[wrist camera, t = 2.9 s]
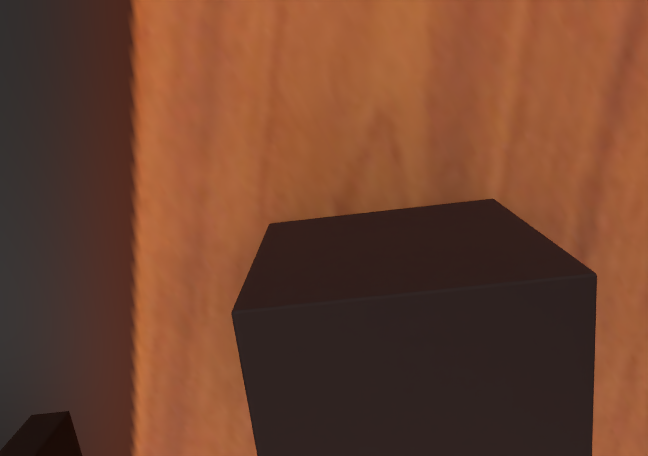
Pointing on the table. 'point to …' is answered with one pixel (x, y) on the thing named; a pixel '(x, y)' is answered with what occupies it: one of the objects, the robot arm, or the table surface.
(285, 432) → the black cube
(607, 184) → the table surface
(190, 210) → the table surface
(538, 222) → the table surface
